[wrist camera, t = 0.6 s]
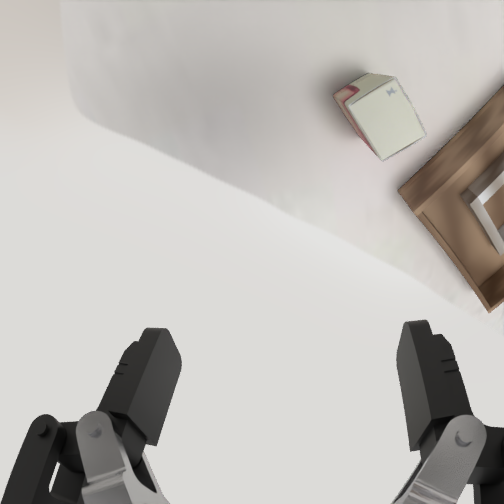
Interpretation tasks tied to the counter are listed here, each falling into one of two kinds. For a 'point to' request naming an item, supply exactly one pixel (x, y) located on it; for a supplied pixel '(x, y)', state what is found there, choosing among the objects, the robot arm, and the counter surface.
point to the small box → (381, 114)
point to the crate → (468, 200)
